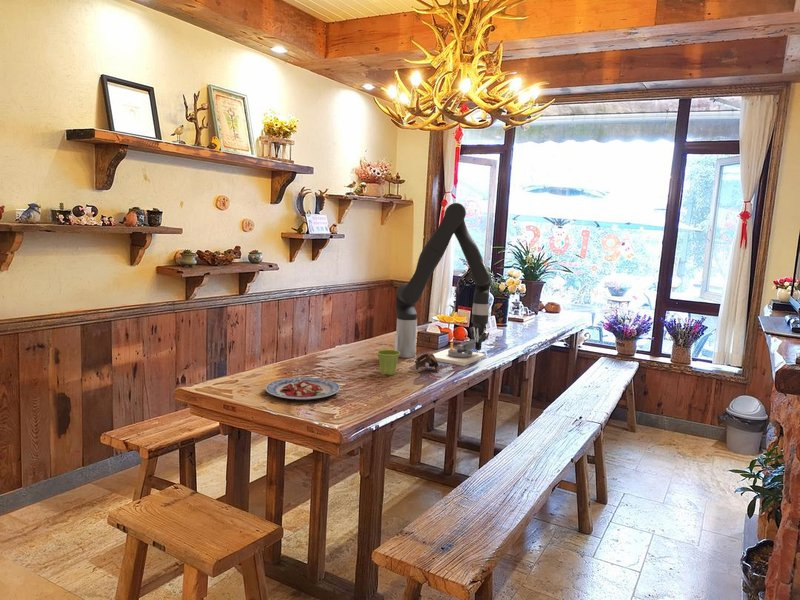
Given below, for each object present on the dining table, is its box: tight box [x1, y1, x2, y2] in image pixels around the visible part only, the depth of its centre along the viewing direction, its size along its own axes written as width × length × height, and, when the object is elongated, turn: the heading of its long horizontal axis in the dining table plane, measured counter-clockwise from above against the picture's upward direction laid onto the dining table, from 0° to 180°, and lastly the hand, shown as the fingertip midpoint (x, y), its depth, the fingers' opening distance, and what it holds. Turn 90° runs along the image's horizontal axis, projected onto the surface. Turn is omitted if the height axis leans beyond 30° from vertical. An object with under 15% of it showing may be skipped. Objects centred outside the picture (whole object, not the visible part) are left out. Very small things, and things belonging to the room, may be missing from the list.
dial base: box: [432, 342, 486, 367], centre depth 267 cm, size 22×18×4 cm
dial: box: [448, 340, 475, 358], centre depth 269 cm, size 18×11×4 cm, turn 147°
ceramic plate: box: [264, 376, 341, 401], centre depth 206 cm, size 26×26×3 cm
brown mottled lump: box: [414, 353, 440, 374], centre depth 244 cm, size 12×10×8 cm
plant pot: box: [376, 349, 400, 376], centre depth 236 cm, size 9×9×9 cm
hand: (478, 349), depth 271 cm, fingers closed
